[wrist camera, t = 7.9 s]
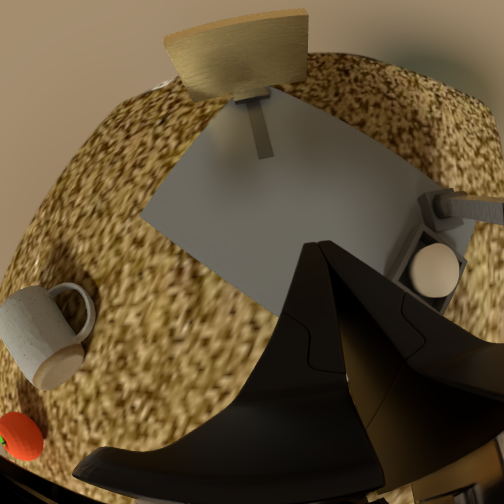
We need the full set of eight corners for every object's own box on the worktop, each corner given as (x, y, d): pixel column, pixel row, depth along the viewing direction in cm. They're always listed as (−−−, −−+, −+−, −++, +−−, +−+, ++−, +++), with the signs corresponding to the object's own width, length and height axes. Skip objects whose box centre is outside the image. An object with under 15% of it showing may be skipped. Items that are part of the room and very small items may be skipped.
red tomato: (22, 433, 23) (-10, 445, 16) (15, 395, 24) (-20, 404, 17) (56, 459, 22) (24, 477, 15) (49, 421, 22) (11, 436, 15)
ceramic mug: (72, 387, 23) (23, 402, 15) (34, 332, 24) (-14, 334, 17) (117, 321, 23) (62, 326, 16) (72, 265, 25) (19, 253, 17)
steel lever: (458, 216, 17) (542, 232, 8) (434, 221, 17) (520, 240, 9) (455, 187, 17) (540, 191, 8) (430, 191, 17) (518, 195, 8)
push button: (434, 306, 17) (445, 307, 15) (399, 280, 17) (409, 278, 16) (454, 264, 17) (465, 262, 15) (421, 237, 17) (431, 232, 16)
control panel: (380, 380, 20) (398, 397, 15) (152, 223, 24) (127, 210, 20) (462, 224, 20) (488, 213, 16) (253, 94, 25) (248, 66, 21)
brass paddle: (309, 92, 21) (312, 21, 13) (196, 115, 22) (163, 51, 14) (299, 70, 22) (299, 2, 14) (194, 92, 22) (164, 30, 14)
